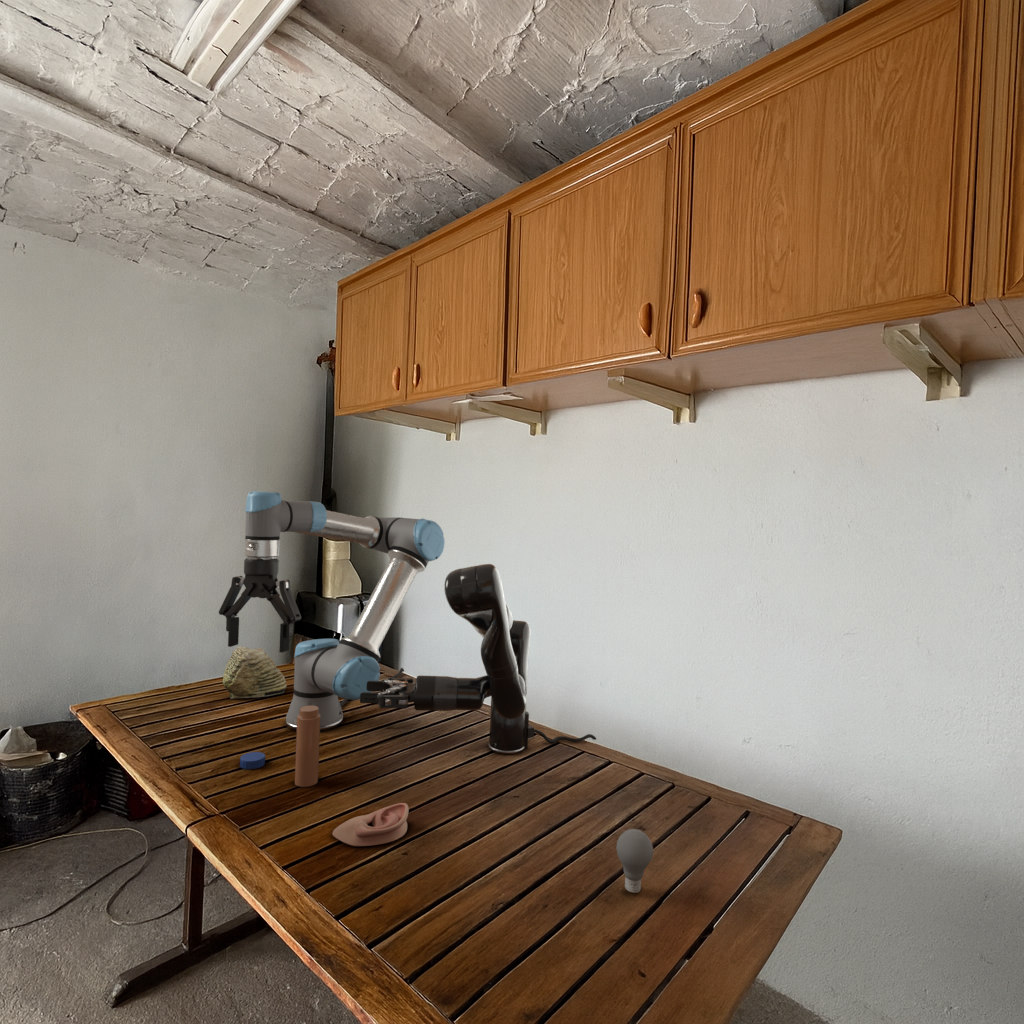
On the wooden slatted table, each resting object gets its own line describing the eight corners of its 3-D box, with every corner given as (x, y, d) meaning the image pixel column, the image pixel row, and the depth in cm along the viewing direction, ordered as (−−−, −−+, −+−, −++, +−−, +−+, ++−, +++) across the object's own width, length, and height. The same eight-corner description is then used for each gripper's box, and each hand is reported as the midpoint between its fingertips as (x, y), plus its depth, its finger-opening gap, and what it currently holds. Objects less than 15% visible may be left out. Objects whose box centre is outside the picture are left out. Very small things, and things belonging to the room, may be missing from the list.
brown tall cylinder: (321, 777, 143) (323, 705, 142) (313, 787, 138) (316, 712, 138) (299, 776, 143) (302, 704, 143) (291, 786, 138) (293, 711, 138)
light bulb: (610, 879, 108) (613, 822, 108) (644, 879, 109) (647, 822, 109) (619, 902, 102) (622, 840, 102) (655, 901, 103) (658, 840, 103)
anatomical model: (325, 820, 116) (352, 792, 127) (324, 841, 116) (352, 812, 128) (392, 830, 114) (415, 801, 125) (392, 852, 114) (414, 821, 125)
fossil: (218, 695, 195) (220, 647, 195) (278, 685, 208) (279, 640, 207) (228, 703, 189) (230, 653, 188) (289, 692, 201) (290, 645, 201)
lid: (237, 762, 149) (237, 754, 148) (261, 757, 152) (261, 750, 152) (243, 771, 144) (243, 763, 144) (268, 766, 148) (268, 758, 147)
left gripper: (204, 555, 147) (201, 646, 147) (300, 562, 141) (297, 657, 141) (226, 553, 154) (223, 639, 154) (318, 559, 148) (315, 649, 149)
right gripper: (439, 668, 149) (369, 666, 148) (435, 686, 135) (358, 684, 134) (437, 699, 149) (368, 698, 148) (434, 721, 135) (357, 719, 134)
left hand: (258, 648), depth 148 cm, fingers open, 13 cm apart
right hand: (363, 691), depth 141 cm, fingers open, 8 cm apart
